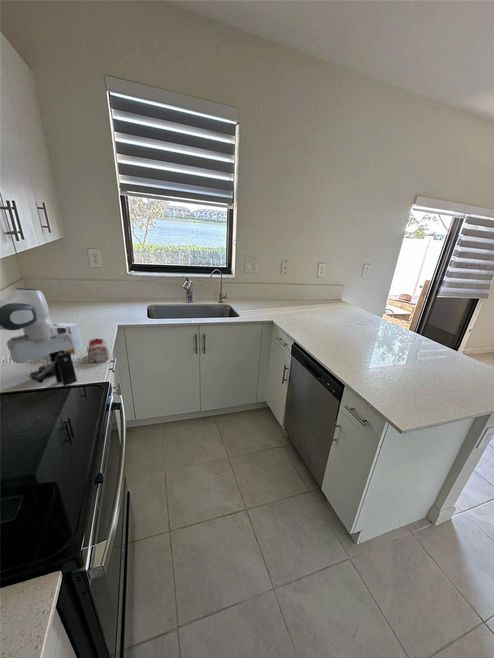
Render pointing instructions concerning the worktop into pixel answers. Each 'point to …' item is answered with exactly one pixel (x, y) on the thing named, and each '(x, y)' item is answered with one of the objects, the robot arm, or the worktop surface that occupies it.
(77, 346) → the small box
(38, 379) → the lever
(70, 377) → the bracket
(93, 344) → the food item
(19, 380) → the worktop surface
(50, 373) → the control block
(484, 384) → the worktop surface
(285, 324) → the worktop surface
